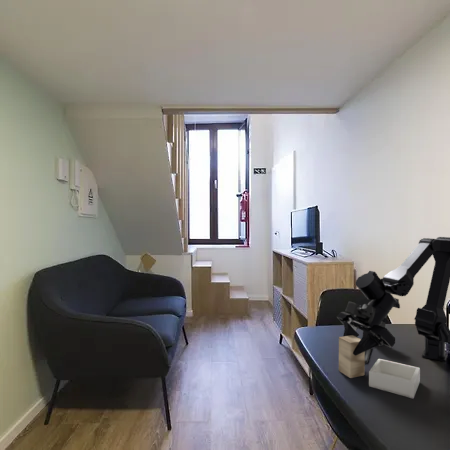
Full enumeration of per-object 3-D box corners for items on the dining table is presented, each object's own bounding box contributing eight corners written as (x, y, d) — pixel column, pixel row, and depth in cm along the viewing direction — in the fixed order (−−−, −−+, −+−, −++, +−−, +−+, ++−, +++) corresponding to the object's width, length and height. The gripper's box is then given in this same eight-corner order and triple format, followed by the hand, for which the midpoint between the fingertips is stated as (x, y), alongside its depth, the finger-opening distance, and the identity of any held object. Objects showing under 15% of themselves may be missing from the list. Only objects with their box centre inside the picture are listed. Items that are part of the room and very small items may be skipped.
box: (378, 372, 101) (378, 358, 101) (419, 382, 95) (419, 367, 94) (368, 386, 92) (369, 371, 92) (413, 398, 86) (413, 382, 86)
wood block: (352, 368, 104) (352, 335, 103) (364, 375, 99) (364, 340, 99) (338, 370, 102) (338, 337, 102) (350, 378, 97) (350, 342, 97)
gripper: (341, 286, 110) (312, 324, 106) (387, 299, 92) (354, 345, 89) (361, 308, 113) (333, 346, 109) (409, 325, 95) (377, 370, 92)
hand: (347, 351), depth 100 cm, fingers closed on wood block, 5 cm apart
